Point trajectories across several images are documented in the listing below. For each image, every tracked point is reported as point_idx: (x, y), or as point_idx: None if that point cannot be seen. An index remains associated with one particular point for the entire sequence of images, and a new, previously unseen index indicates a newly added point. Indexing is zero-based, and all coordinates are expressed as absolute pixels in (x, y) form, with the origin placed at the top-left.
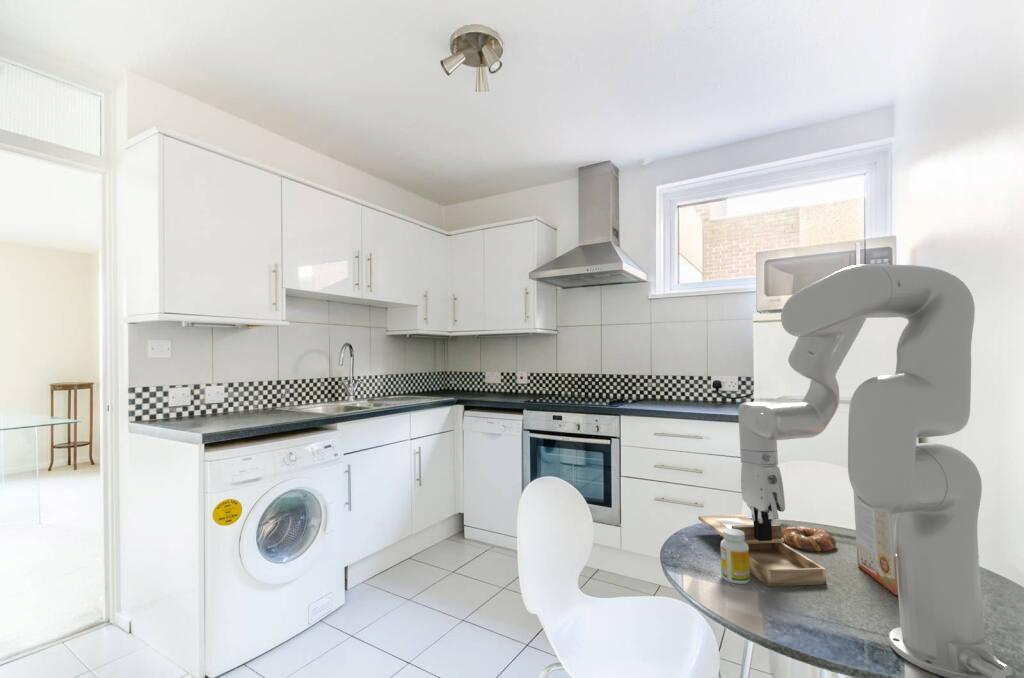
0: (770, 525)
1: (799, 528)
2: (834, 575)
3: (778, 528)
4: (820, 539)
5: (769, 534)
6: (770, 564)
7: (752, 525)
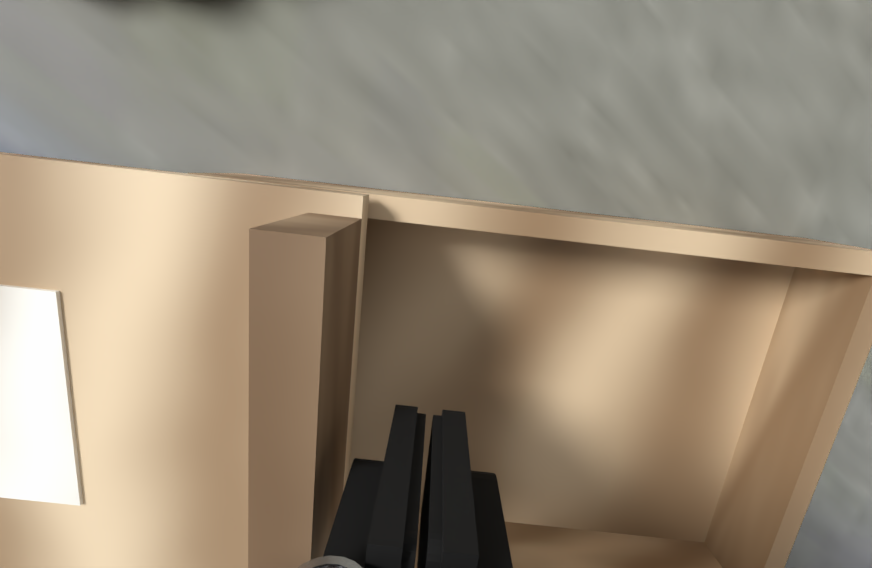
0: (474, 529)
1: None
2: (734, 78)
3: (336, 270)
4: None
5: (496, 493)
6: (512, 396)
7: (270, 557)
